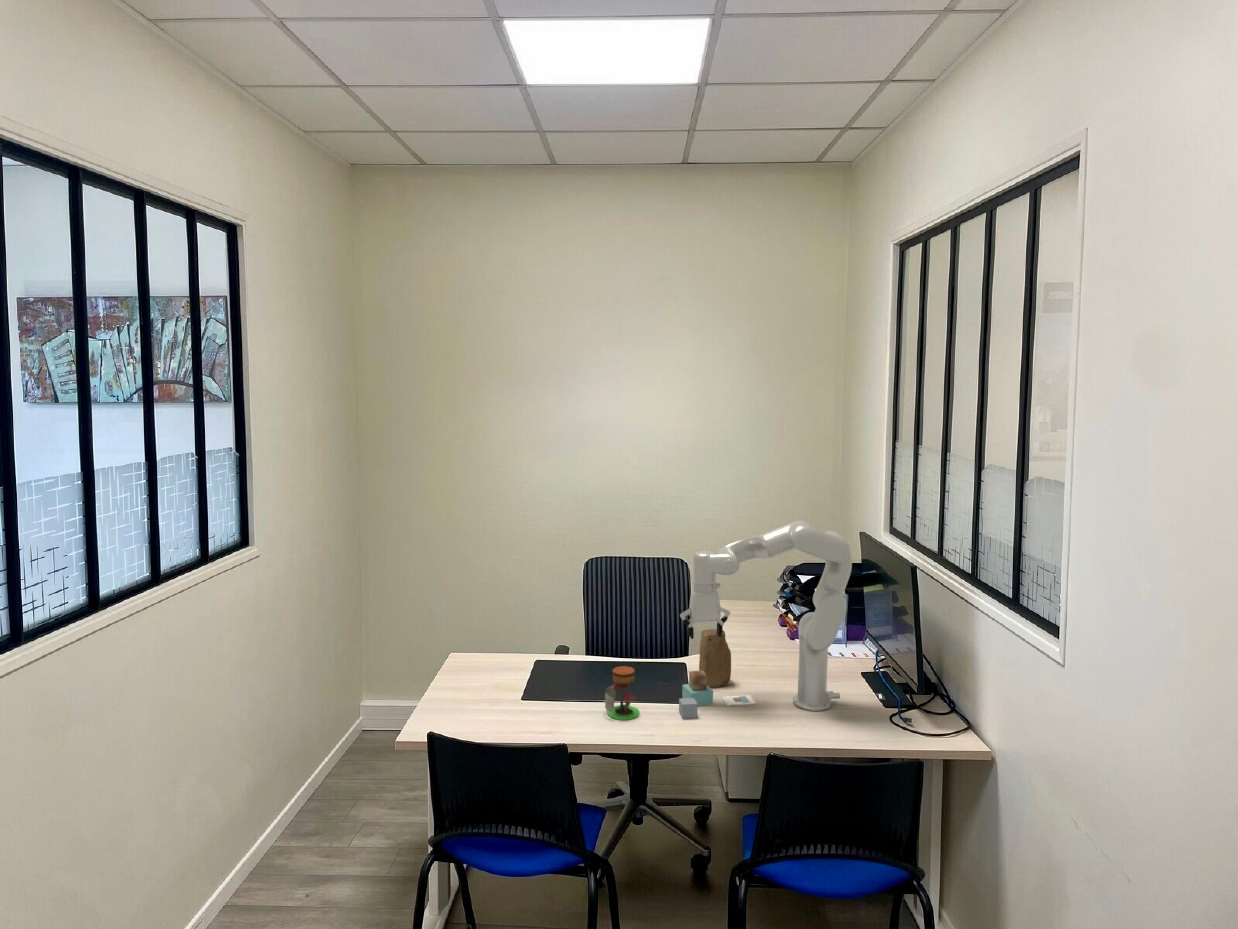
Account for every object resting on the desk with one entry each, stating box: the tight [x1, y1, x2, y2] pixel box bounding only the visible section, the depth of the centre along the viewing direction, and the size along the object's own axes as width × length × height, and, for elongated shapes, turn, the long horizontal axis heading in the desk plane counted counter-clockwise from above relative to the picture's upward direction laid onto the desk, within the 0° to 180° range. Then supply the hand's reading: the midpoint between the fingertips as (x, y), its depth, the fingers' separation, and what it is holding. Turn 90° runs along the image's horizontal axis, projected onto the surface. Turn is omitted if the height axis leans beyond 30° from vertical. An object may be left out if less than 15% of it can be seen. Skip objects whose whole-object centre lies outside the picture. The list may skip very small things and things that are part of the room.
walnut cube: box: [688, 670, 707, 691], centre depth 285 cm, size 5×5×5 cm
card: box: [721, 694, 757, 707], centre depth 285 cm, size 10×7×1 cm
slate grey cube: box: [678, 698, 698, 720], centre depth 273 cm, size 5×5×5 cm
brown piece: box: [698, 628, 732, 689], centre depth 299 cm, size 11×8×20 cm
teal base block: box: [681, 683, 714, 707], centre depth 285 cm, size 8×8×5 cm
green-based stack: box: [604, 665, 640, 721], centre depth 274 cm, size 12×13×15 cm
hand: (705, 636), depth 282 cm, fingers open, 9 cm apart
